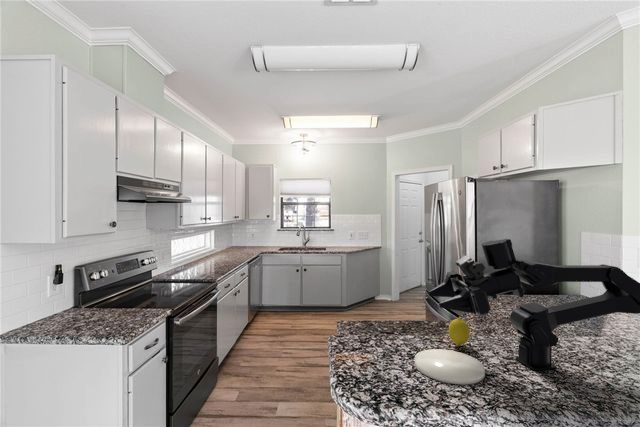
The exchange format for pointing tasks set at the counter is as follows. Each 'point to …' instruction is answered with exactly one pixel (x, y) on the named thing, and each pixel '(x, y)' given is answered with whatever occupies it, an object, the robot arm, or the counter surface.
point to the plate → (449, 366)
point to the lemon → (459, 331)
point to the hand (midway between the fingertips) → (433, 299)
